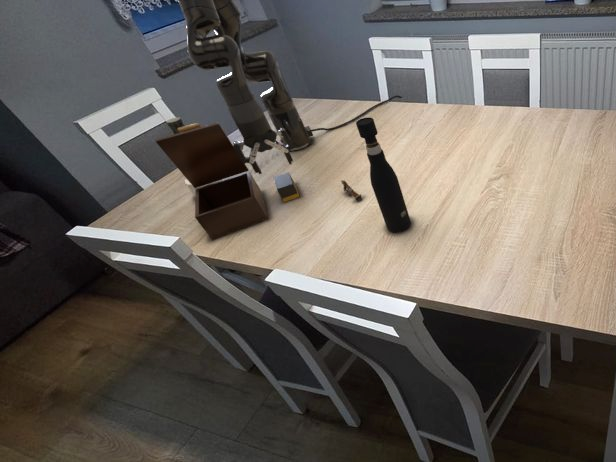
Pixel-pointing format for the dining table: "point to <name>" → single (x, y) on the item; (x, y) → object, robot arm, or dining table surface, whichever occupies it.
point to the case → (229, 205)
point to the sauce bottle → (175, 124)
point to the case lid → (202, 153)
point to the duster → (286, 187)
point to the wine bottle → (384, 180)
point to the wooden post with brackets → (350, 191)
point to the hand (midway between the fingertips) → (275, 167)
